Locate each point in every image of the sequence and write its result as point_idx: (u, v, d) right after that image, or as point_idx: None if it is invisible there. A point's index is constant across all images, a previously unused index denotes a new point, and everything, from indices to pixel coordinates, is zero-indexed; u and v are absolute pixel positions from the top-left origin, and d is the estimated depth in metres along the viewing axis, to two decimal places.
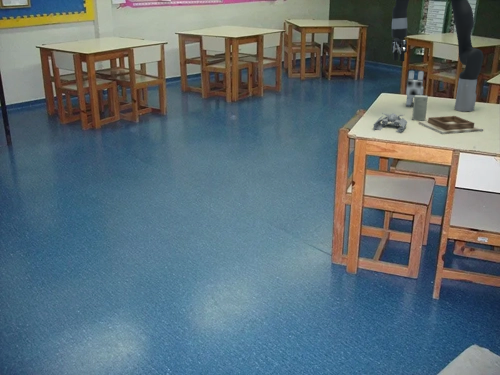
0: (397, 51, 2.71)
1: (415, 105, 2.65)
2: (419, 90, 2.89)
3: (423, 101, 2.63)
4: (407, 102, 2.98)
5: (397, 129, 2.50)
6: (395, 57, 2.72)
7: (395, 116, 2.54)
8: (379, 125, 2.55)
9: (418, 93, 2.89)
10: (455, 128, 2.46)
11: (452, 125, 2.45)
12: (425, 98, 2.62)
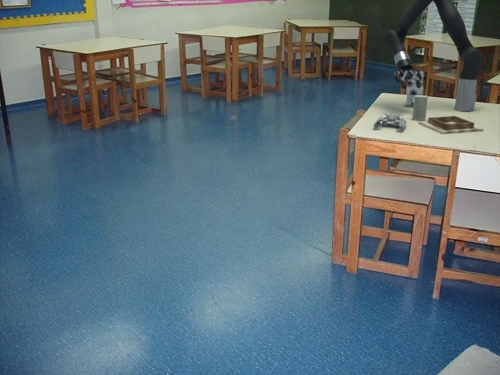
0: (417, 79, 2.74)
1: (415, 105, 2.65)
2: (419, 90, 2.89)
3: (423, 101, 2.63)
4: (407, 102, 2.98)
5: (397, 129, 2.51)
6: (417, 85, 2.74)
7: (395, 116, 2.54)
8: (379, 125, 2.56)
9: (418, 93, 2.89)
10: (455, 128, 2.46)
11: (452, 125, 2.45)
12: (425, 98, 2.62)
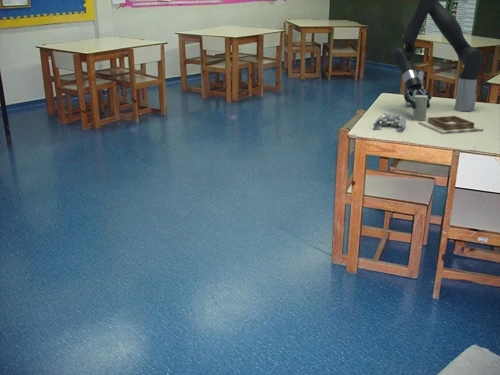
0: None
1: None
2: None
3: (423, 101, 2.63)
4: (407, 102, 2.98)
5: (397, 129, 2.51)
6: None
7: (394, 116, 2.55)
8: (378, 125, 2.56)
9: None
10: (455, 128, 2.46)
11: (452, 125, 2.45)
12: (425, 98, 2.62)
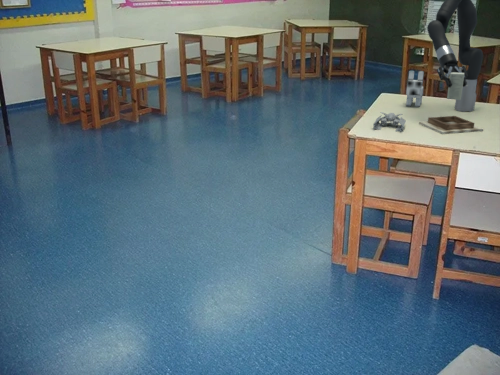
0: None
1: None
2: (419, 90, 2.89)
3: (460, 78, 2.43)
4: (407, 102, 2.98)
5: (396, 128, 2.51)
6: None
7: (394, 115, 2.55)
8: (378, 125, 2.56)
9: (418, 93, 2.89)
10: (455, 128, 2.46)
11: (452, 125, 2.45)
12: (462, 75, 2.43)
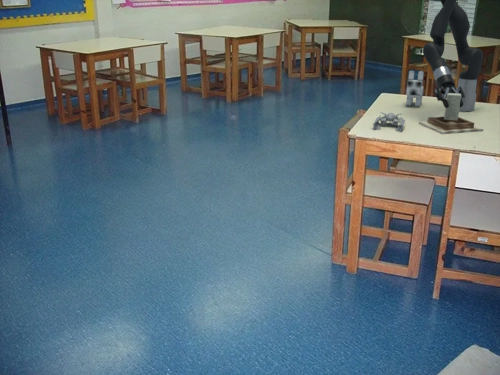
0: None
1: None
2: (419, 90, 2.89)
3: (457, 99, 2.47)
4: (407, 102, 2.98)
5: (396, 128, 2.52)
6: None
7: (393, 115, 2.55)
8: (378, 125, 2.56)
9: (418, 93, 2.89)
10: (455, 128, 2.46)
11: (452, 125, 2.45)
12: (459, 96, 2.46)
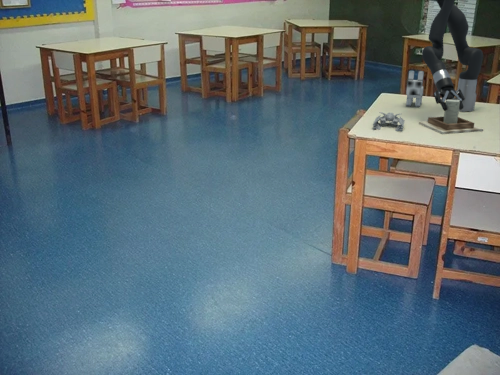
0: None
1: (446, 110, 2.50)
2: (419, 90, 2.89)
3: (455, 106, 2.48)
4: (407, 102, 2.98)
5: (396, 128, 2.52)
6: (459, 106, 2.52)
7: (393, 115, 2.56)
8: (377, 124, 2.57)
9: (418, 93, 2.89)
10: (455, 128, 2.46)
11: (452, 125, 2.45)
12: (457, 103, 2.47)
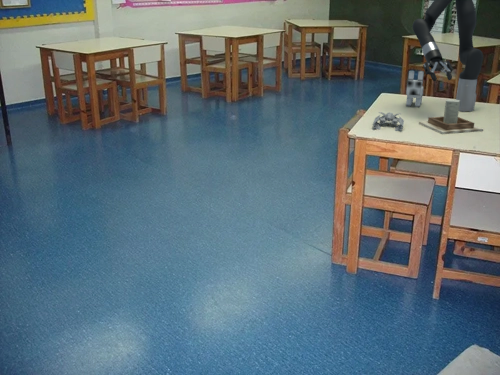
0: (447, 71, 2.61)
1: (446, 110, 2.50)
2: (419, 90, 2.89)
3: (455, 106, 2.48)
4: (407, 102, 2.98)
5: (395, 128, 2.52)
6: (448, 77, 2.61)
7: (392, 115, 2.56)
8: (377, 124, 2.57)
9: (418, 93, 2.89)
10: (455, 128, 2.46)
11: (452, 125, 2.45)
12: (457, 103, 2.47)
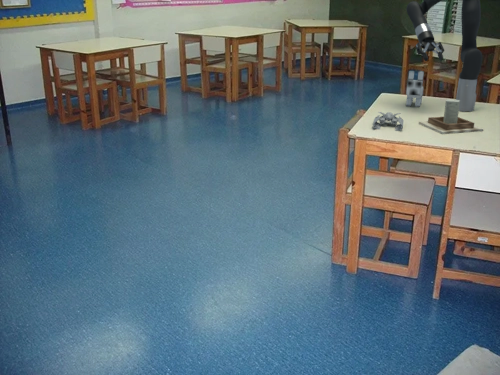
0: (439, 51, 2.70)
1: (446, 110, 2.50)
2: (419, 90, 2.89)
3: (455, 106, 2.48)
4: (407, 102, 2.98)
5: (395, 128, 2.53)
6: (439, 57, 2.70)
7: (392, 115, 2.56)
8: (376, 124, 2.57)
9: (418, 93, 2.89)
10: (455, 128, 2.46)
11: (452, 125, 2.45)
12: (457, 103, 2.47)
